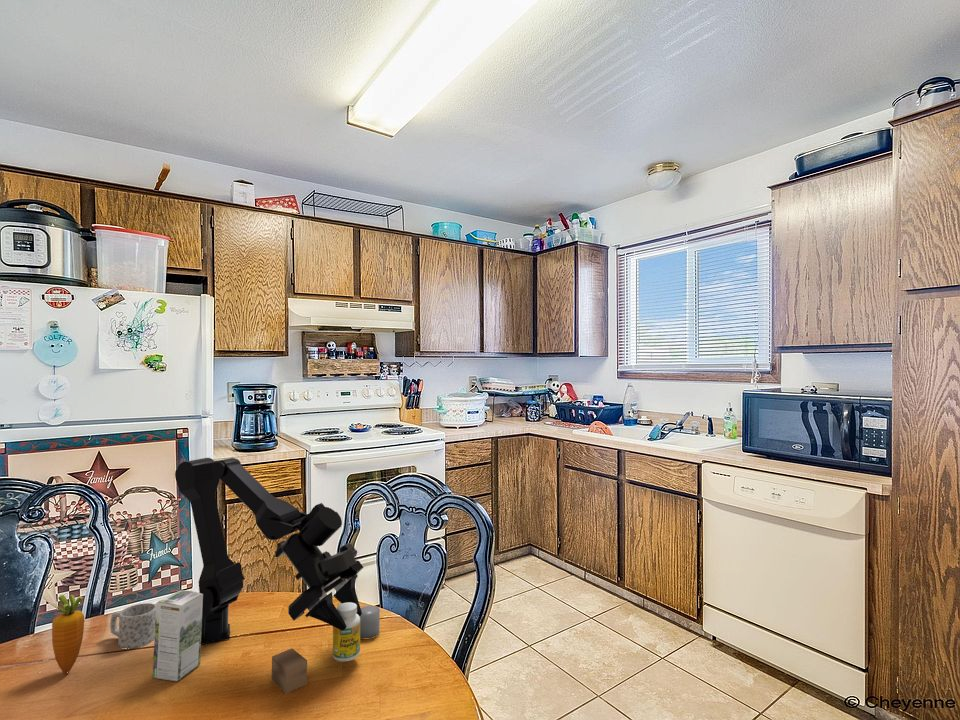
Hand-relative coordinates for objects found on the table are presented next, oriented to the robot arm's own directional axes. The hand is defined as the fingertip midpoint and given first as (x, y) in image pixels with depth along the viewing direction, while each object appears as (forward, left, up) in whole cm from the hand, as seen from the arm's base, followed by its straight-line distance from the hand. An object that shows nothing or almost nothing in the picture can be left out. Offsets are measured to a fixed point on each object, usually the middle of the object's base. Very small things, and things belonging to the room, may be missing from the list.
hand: (352, 622), depth 99 cm
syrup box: (-13, -31, -9) cm, 35 cm away
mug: (-31, -41, -9) cm, 52 cm away
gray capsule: (-11, +6, -9) cm, 15 cm away
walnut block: (0, -12, -9) cm, 15 cm away
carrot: (-22, -50, -9) cm, 55 cm away
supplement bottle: (-1, -1, -7) cm, 7 cm away
